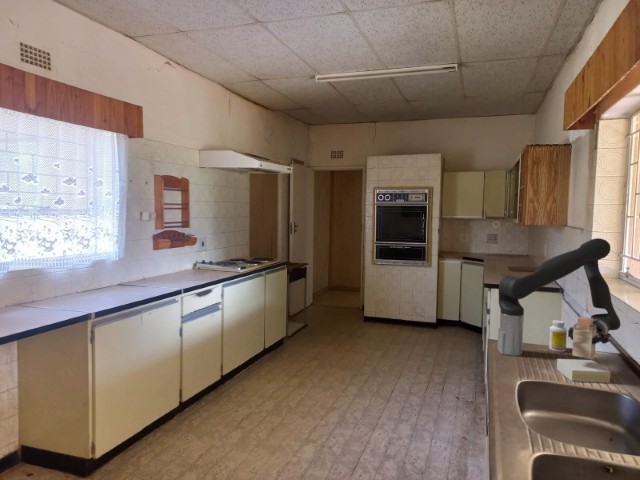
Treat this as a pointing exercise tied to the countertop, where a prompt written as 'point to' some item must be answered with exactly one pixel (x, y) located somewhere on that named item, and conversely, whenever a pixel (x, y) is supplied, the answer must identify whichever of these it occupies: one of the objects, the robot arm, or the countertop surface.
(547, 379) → the countertop surface
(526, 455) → the countertop surface
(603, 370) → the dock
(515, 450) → the countertop surface
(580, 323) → the block
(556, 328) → the supplement bottle
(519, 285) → the robot arm
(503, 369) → the countertop surface
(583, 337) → the box
